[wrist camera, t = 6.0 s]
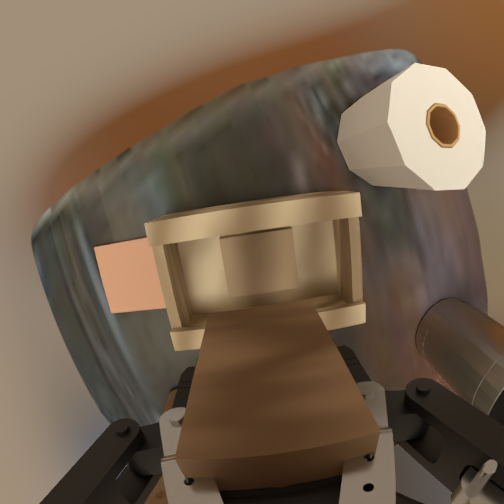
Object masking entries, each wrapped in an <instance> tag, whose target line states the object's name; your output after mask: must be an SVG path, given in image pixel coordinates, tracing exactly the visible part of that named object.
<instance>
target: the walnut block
mask: <svg viewBox="0 0 504 504" xmlns="http://www.w3.org/2000/svg"><path fill="white" fill-rule="evenodd" d="M379 435H380V429H379V427H378V425H377V423H376V421H375V419H374V417H373V415H372V413H371V411H370V409H369V408H368V406H367V404H366V402H365V400H364V398H363V396H362V394H361V392H360V390H359V388H358V386H357V384H356V383H355V381H354V379H353V377H352V375H351V373H350V371H349V369H348V367H347V365H346V364H345V362H344V360H343V358H342V356H341V354H340V352H339V350H338V349H337V347H336V345H335V343H334V341H333V339H332V338H331V336H330V334H329V332H328V330H327V328H326V326H325V325H324V323H323V321H322V319H321V317H320V316H319V314H318V312H317V310H316V308H315V306H314V305H313V303H312V301H311V299H306V300H300V301H294V302H288V303H281V304H274V305H268V306H261V307H254V308H246V309H239V310H231V311H224V312H215V313H209V315H208V319H207V323H206V327H205V331H204V335H203V339H202V343H201V347H200V351H199V355H198V359H197V363H196V367H195V372H194V376H193V380H192V384H191V388H190V393H189V397H188V401H187V406H186V410H185V414H184V419H183V423H182V428H181V432H180V437H179V441H178V446H177V450H176V455H175V461H176V463H177V464H178V466H179V468H180V470H181V471H182V473H183V475H184V477H188V478H214V479H215V481H216V483H217V485H218V487H219V490H220V491H228V490H246V489H259V488H269V487H273V488H283V487H286V486H289V485H292V484H298V483H304V482H310V481H315V480H320V479H325V478H329V477H334V476H338V475H342V471H343V463H344V460H347V459H351V458H355V457H358V456H362V455H365V454H369V453H372V452H375V451H376V449H377V445H378V440H379Z"/></svg>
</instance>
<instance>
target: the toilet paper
mask: <svg viewBox="0 0 504 504" xmlns="http://www.w3.org/2000/svg"><path fill="white" fill-rule="evenodd" d="M485 135H486V130H485V127H484V124H483V122H482V119H481V116H480V113H479V111H478V108H477V106H476V103H475V101H474V98H473V96H472V94H471V93H470V92H469V91H468V90H467V89H466V88H465V87H464V86H463V85H462V84H461V83H460V82H459V81H458V80H457V79H456V78H455V77H454V76H453V75H452V74H451V73H450V72H449V71H447V70H446V69H444V68H439V67H434V66H429V65H424V64H418V63H414V64H413V65H411V66H409V67H408V68H406V69H404V70H403V71H401V72H400V73H398V74H397V75H395V76H393V77H392V78H390V79H389V80H387V81H386V82H384V83H383V84H381V85H379V86H378V87H376V88H375V89H373V90H372V91H370V92H369V93H367V94H366V95H364V96H363V97H361V98H360V99H359V100H358V101H356V102H355V103H354V104H353V105H352V106H351V107H349V108H348V109H347V110H346V111H345V112H343V113H342V114H341V120H340V126H339V132H338V138H337V143H338V146H339V148H340V150H341V152H342V155H343V157H344V159H345V161H346V164H347V166H348V168H349V170H350V171H352V172H353V173H355V174H356V175H358V176H359V177H361V178H362V179H364V180H365V181H366V182H368V183H369V184H371V185H372V186H385V187H399V188H412V189H424V190H435V191H436V190H456V189H465V188H466V187H467V186H468V184H469V183H470V182H471V181H472V179H473V178H474V177H475V175H476V174H477V172H479V170H480V169H481V168H482V166H483V161H484V150H485Z"/></svg>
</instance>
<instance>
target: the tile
mask: <svg viewBox="0 0 504 504" xmlns="http://www.w3.org/2000/svg"><path fill="white" fill-rule="evenodd" d="M94 249H95V254H96V258H97V262H98V266H99V270H100V274H101V278H102V282H103V285H104V289H105V293H106V296H107V299H108V303H109V306H110V310H111V313H119V312H130V311H140V310H150V309H160V308H166V305H165V301H164V297H163V293H162V289H161V285H160V280H159V276H158V272H157V267H156V263H155V258H154V253H153V249H152V247H149V245H148V240H147V237H145V238H139V239H133V240H128V241H122V242H117V243H111V244H106V245H100V246H96V247H94Z"/></svg>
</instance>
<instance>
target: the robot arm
mask: <svg viewBox="0 0 504 504" xmlns="http://www.w3.org/2000/svg"><path fill="white" fill-rule="evenodd" d="M331 338H332V337H331ZM332 339H333V338H332ZM333 341H334V340H333ZM334 343H335V342H334ZM335 345H336V344H335ZM416 346H417V349H418V351H419V352H420V353H421V354H422V356H423V357H424V358H425V359H426V360H427V361H428V362H429V363H430V364H431V365H432V366H433V368H434V369H435V370H436V371H437V372H438V373H439V374H440V375H441V376H442V377H443V379H444V380H445V381H446V382H447V383H448V384H449V385H450V386H451V387H452V389H453V390H454V391H455V392H456V393H457V394H458V395H459V396H457V395H456V394H454V393H453V392H451V391H450V390H448V389H446V388H445V387H443V386H442V385H440V384H439V383H437V382H436V381H434V380H432V379H429V378H418V379H415V380H412V381H411V382H409V383H408V385H407V386H406V390H401V391H386V390H384V388H383V387H382V386H381V385H380V384H378V383H375V382H371V380H370V378H369V377H368V375H367V373H366V372H365V370H364V368H363V367H362V365H361V364H360V362H359V360H358V358H357V357H356V355H355V354H354V352H353V350H351V349H350V348H348V347H346V346H345V345H343V346H338V347H337V346H336V347H337V349H338V350H339V352H340V354H341V356H342V358H343V360H344V362H345V364H346V365H347V367H348V369H349V371H350V373H351V375H352V377H353V379H354V381H355V383H356V384H357V386H358V388H359V390H360V392H361V394H362V396H363V398H364V400H365V402H366V404H367V406H368V408H369V409H370V411H371V413H372V415H373V417H374V419H375V421H376V423H377V425H378V427H379V429H380V435H379V440H378V445H377V449H376V451H375V452H372V453H369V454H365V455H362V456H358V457H355V458H351V459H347V460H344V463H343V471H342V475H338V476H334V477H329V478H325V479H320V480H315V481H310V482H304V483H298V484H292V485H289V486H286V487H283V488H273V487H269V488H259V489H246V490H228V491H220V490H219V487H218V485H217V483H216V481H215V479H214V478H188V477H184V475H183V473H182V471H181V470H180V468H179V466H178V464H177V463H176V461H175V455H176V450H177V446H178V441H179V437H180V432H181V428H182V423H183V419H184V414H185V410H186V406H187V401H188V397H189V393H190V388H191V384H192V380H193V376H194V372H195V367H196V365H195V367H188V368H187V369H186V370H185V371H184V372H183V373H182V375H181V378H180V381H179V382H180V383H179V385H178V389H177V392H176V395H175V399H174V402H173V406H172V409H170V410H168V411H166V412H165V413H163V414H162V416H161V417H160V420H159V422H158V423H155V424H151V425H147V426H142V427H140V426H139V424H138V423H137V422H136V421H135V420H133V419H127V418H126V419H120V420H117V421H115V422H113V423H112V424H111V425H109V427H108V428H107V429H106V430H105V431H104V432H103V433H102V435H101V436H100V437H99V438H98V439H97V440H96V441H95V442H94V443H93V445H92V446H91V447H90V448H89V449H88V450H87V451H86V452H85V454H84V455H83V456H82V457H81V458H80V459H79V460H78V461H77V463H76V464H75V465H74V466H73V467H72V468H71V469H70V470H69V472H68V473H67V474H66V475H65V476H64V477H63V478H62V479H61V480H60V481H59V483H58V484H57V485H56V486H55V487H54V488H53V489H52V490H51V492H50V493H49V494H48V495H47V496H46V497H45V498H44V499H43V500H42V501H41V502H40V504H144V503H145V501H146V500H147V498H148V497H149V495H150V494H151V492H152V490H153V489H154V487H155V486H156V484H157V483H158V481H159V479H160V478H161V476H162V474H163V479H164V484H165V489H166V495H167V499H168V504H423V503H421V502H418V501H416V500H414V499H411V498H409V497H407V496H404V495H402V494H400V493H398V492H396V489H395V462H394V446H393V441H396V442H397V443H398V444H399V445H400V446H401V447H402V448H403V449H404V450H405V451H407V452H408V453H409V454H410V455H411V456H412V457H413V458H414V459H415V460H416V461H417V462H419V463H420V464H421V465H422V466H423V467H424V468H425V469H426V470H428V471H429V472H430V473H431V474H432V475H433V476H434V477H435V478H436V479H438V480H439V481H440V482H441V483H442V484H443V485H444V486H446V487H447V488H448V489H449V490H450V491H451V492H452V494H451V504H504V326H503V325H501V324H500V323H498V322H497V321H495V320H494V319H492V318H491V317H489V316H488V315H486V314H485V313H483V312H482V311H480V310H478V309H477V308H475V307H474V306H472V305H471V304H469V303H467V302H464V303H462V302H460V301H459V300H457V299H454V298H447V299H444V300H442V301H440V302H438V303H436V304H435V305H434V306H433V307H432V308H431V309H430V310H429V311H428V312H427V313H426V314H425V316H424V317H423V319H422V321H421V323H420V325H419V327H418V330H417V334H416ZM197 359H198V357H197ZM196 363H197V361H196ZM126 465H127V466H126ZM125 466H126V467H125ZM124 467H125V469H124ZM123 469H124V470H123ZM122 470H123V471H122ZM121 471H122V473H121ZM120 473H121V474H120ZM119 474H120V476H119V477H118V475H119ZM117 477H118V478H117ZM116 478H117V479H116Z"/></svg>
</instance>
